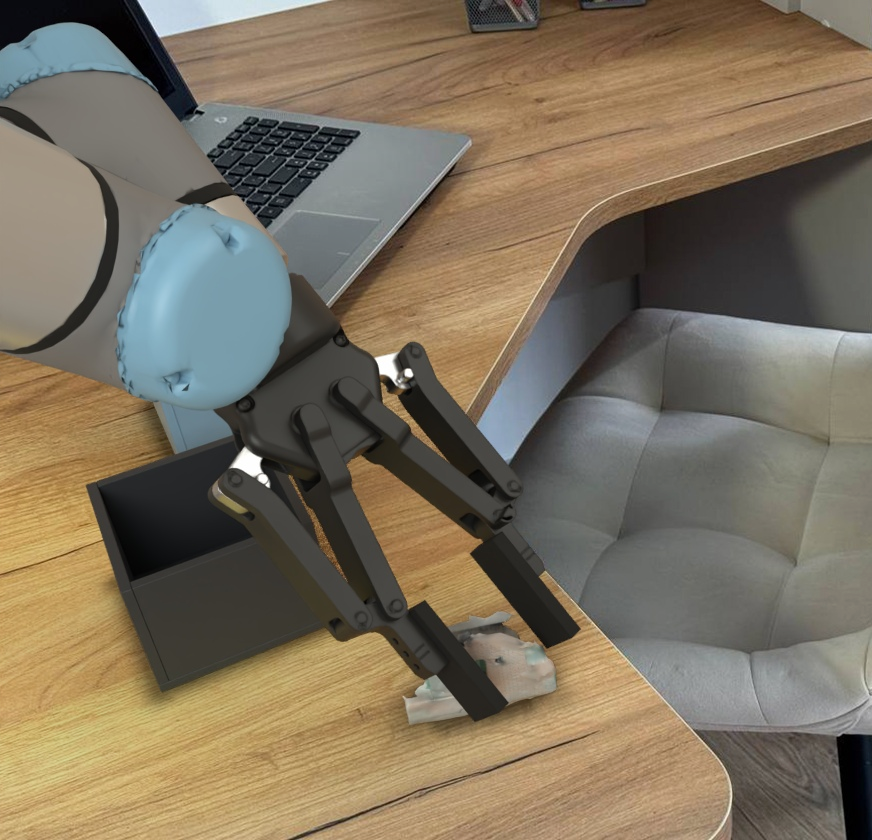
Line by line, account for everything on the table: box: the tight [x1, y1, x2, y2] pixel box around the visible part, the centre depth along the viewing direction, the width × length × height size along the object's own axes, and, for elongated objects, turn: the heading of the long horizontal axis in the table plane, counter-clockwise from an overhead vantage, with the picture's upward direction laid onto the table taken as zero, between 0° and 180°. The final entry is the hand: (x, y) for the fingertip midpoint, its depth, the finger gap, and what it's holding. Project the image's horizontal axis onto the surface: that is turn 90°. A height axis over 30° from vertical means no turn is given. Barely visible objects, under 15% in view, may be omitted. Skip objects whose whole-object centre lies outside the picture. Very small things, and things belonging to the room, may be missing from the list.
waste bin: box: [85, 435, 326, 693], centre depth 74 cm, size 10×10×8 cm
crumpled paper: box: [402, 610, 558, 726], centre depth 68 cm, size 4×8×7 cm, turn 105°
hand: (528, 674), depth 66 cm, fingers closed on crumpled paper, 5 cm apart
